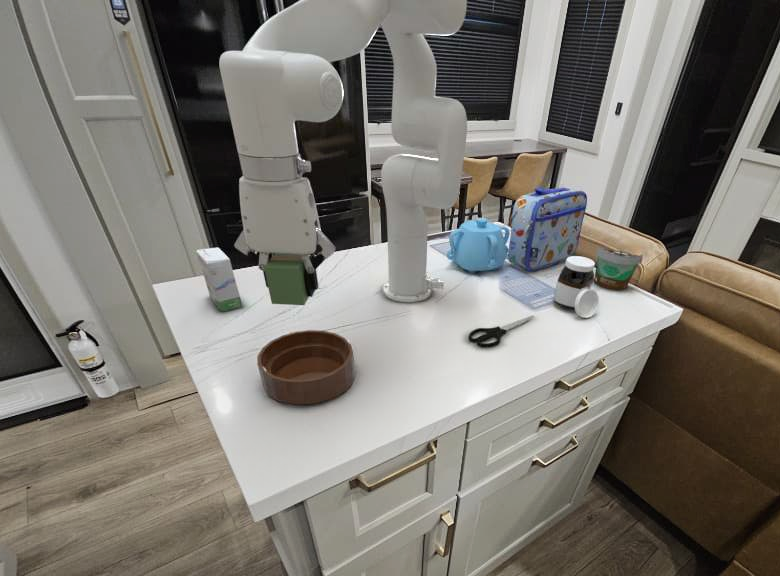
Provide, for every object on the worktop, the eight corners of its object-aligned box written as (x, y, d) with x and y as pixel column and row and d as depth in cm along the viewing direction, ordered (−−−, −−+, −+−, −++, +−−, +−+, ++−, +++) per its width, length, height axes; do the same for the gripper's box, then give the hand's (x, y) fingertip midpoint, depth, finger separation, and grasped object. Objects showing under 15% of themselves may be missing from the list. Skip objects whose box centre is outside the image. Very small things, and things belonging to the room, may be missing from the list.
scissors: (521, 311, 103) (463, 337, 92) (521, 308, 102) (463, 334, 91) (542, 322, 99) (485, 351, 88) (543, 319, 98) (485, 347, 87)
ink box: (243, 307, 97) (230, 258, 89) (221, 312, 94) (205, 262, 87) (231, 293, 102) (218, 245, 94) (210, 298, 99) (194, 249, 92)
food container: (586, 286, 118) (596, 251, 112) (588, 278, 122) (598, 244, 116) (631, 295, 114) (644, 260, 108) (632, 287, 119) (644, 253, 113)
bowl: (360, 355, 84) (358, 331, 81) (347, 408, 71) (344, 383, 68) (279, 352, 83) (273, 328, 80) (250, 405, 70) (243, 379, 67)
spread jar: (563, 293, 113) (573, 251, 106) (603, 306, 108) (617, 263, 101) (544, 309, 105) (554, 264, 98) (587, 324, 100) (600, 278, 93)
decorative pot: (490, 281, 116) (497, 232, 108) (440, 267, 122) (443, 220, 113) (511, 263, 128) (519, 218, 120) (465, 251, 133) (469, 207, 125)
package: (314, 286, 70) (309, 251, 67) (304, 305, 65) (298, 268, 61) (284, 285, 70) (277, 249, 66) (271, 303, 65) (263, 266, 61)
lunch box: (525, 278, 119) (540, 197, 106) (498, 266, 125) (509, 188, 112) (578, 258, 135) (597, 185, 121) (552, 248, 141) (567, 177, 127)
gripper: (340, 166, 60) (350, 285, 71) (218, 158, 59) (248, 280, 70) (329, 178, 54) (342, 305, 65) (193, 169, 53) (230, 300, 64)
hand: (293, 291), depth 67 cm, fingers closed on package, 5 cm apart
